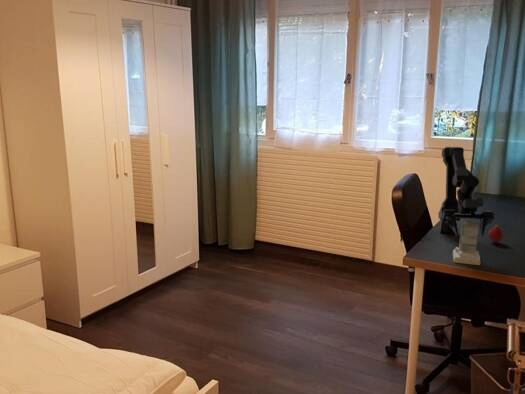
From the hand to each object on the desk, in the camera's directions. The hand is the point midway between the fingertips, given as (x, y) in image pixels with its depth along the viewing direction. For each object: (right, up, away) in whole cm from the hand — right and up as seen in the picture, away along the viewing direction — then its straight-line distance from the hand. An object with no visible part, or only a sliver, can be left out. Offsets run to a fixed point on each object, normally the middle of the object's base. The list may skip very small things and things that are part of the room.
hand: (469, 235), depth 188 cm
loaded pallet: (0, -7, +3) cm, 8 cm away
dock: (0, -9, +4) cm, 10 cm away
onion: (+21, -5, +23) cm, 31 cm away
